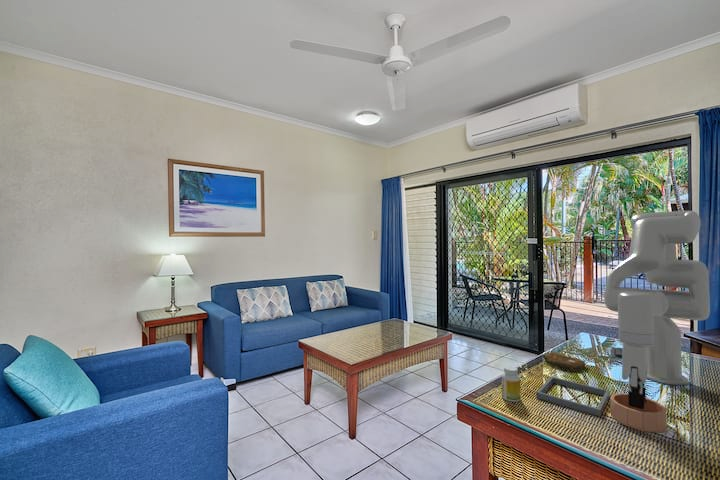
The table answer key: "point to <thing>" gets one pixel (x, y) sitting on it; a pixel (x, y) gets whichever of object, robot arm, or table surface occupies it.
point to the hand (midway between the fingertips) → (637, 403)
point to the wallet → (616, 352)
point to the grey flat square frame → (572, 404)
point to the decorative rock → (565, 361)
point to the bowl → (638, 414)
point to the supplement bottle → (511, 384)
